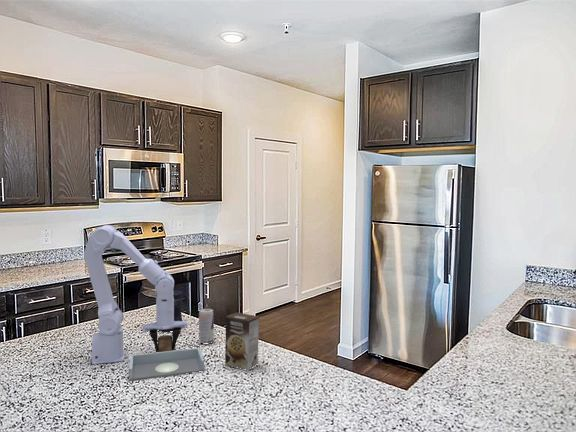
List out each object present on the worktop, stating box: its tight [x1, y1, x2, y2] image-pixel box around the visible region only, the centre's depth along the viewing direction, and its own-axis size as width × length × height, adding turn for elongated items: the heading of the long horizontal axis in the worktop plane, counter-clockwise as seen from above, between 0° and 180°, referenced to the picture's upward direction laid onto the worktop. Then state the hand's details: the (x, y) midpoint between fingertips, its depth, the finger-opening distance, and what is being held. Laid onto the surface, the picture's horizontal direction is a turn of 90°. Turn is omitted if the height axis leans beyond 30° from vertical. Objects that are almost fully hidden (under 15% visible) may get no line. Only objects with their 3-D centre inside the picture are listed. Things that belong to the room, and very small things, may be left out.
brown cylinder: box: [157, 334, 173, 352], centre depth 141 cm, size 5×5×6 cm
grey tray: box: [128, 347, 205, 382], centre depth 130 cm, size 22×11×4 cm, turn 109°
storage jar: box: [158, 289, 183, 333], centre depth 168 cm, size 10×10×15 cm
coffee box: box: [224, 312, 260, 371], centre depth 133 cm, size 9×6×16 cm
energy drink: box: [198, 308, 215, 344], centre depth 153 cm, size 5×5×12 cm
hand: (165, 350), depth 141 cm, fingers closed on brown cylinder, 5 cm apart
